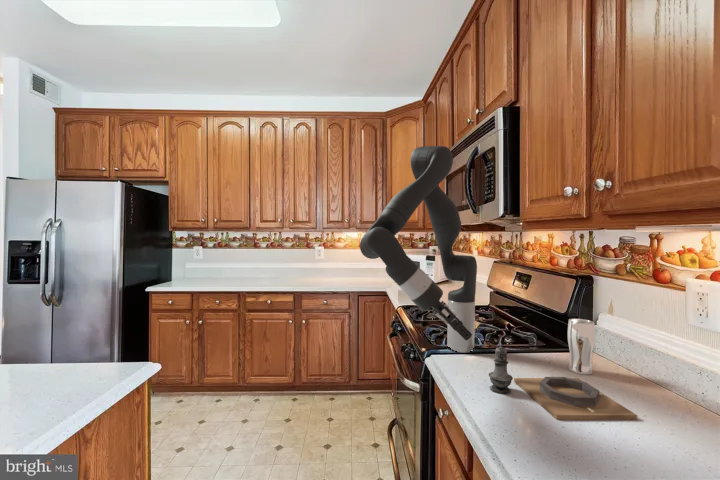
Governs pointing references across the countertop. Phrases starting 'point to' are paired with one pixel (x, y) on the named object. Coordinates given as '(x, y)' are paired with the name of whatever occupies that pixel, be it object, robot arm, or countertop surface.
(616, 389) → the countertop surface
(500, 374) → the grey turned stone piece
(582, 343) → the beer glass
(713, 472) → the countertop surface
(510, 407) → the countertop surface
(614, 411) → the socket plate
